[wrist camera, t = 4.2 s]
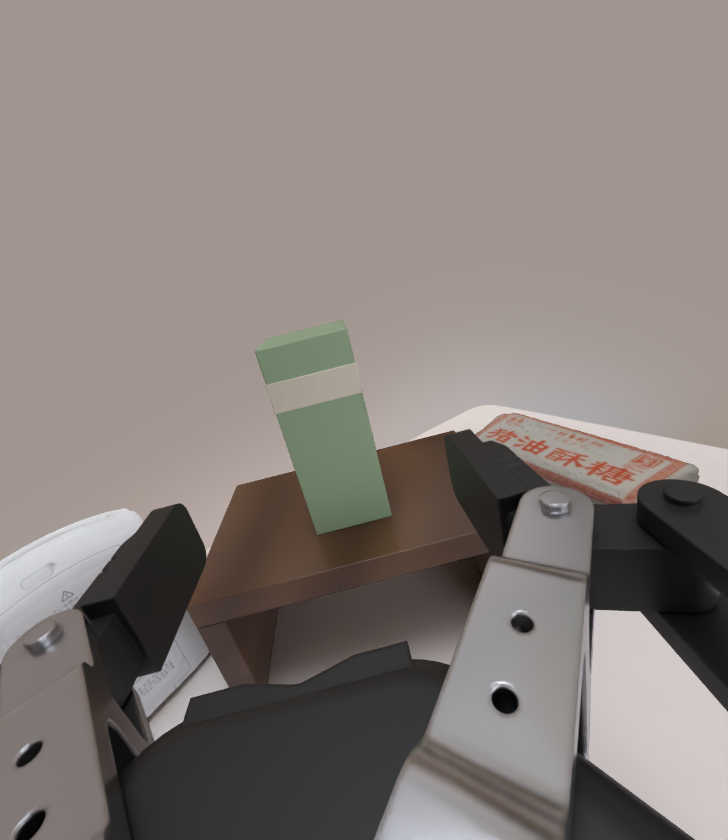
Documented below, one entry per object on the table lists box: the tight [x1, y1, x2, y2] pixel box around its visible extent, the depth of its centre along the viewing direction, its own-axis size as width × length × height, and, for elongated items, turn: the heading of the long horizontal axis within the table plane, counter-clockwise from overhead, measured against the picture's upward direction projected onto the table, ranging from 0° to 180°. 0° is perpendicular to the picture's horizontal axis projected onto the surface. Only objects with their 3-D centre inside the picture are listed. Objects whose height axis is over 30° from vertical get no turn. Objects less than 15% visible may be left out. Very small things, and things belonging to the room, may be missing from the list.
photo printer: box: [0, 508, 210, 718], centre depth 21 cm, size 10×4×12 cm, turn 145°
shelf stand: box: [187, 431, 491, 688], centre depth 26 cm, size 18×12×8 cm, turn 96°
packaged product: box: [476, 413, 699, 505], centre depth 32 cm, size 18×5×10 cm
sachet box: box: [255, 320, 392, 535], centre depth 21 cm, size 5×4×11 cm
